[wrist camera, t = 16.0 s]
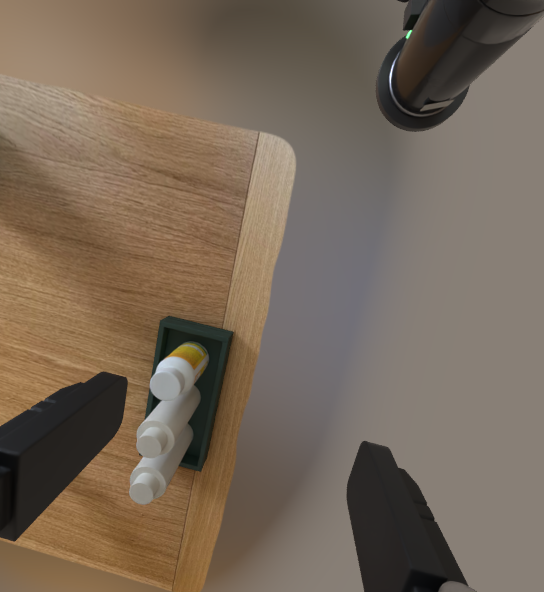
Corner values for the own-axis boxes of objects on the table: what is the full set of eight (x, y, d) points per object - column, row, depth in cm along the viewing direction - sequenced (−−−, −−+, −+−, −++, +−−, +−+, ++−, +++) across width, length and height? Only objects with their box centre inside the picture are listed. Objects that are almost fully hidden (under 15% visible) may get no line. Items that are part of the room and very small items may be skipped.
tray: (168, 315, 44) (159, 320, 41) (233, 331, 43) (229, 338, 40) (148, 442, 48) (138, 455, 46) (206, 458, 48) (200, 472, 45)
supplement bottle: (212, 371, 44) (189, 405, 34) (180, 373, 44) (148, 408, 35) (206, 338, 43) (181, 365, 34) (174, 341, 43) (140, 368, 34)
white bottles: (173, 378, 45) (131, 424, 33) (203, 386, 44) (171, 434, 33) (162, 441, 47) (120, 504, 36) (190, 449, 47) (157, 515, 35)
